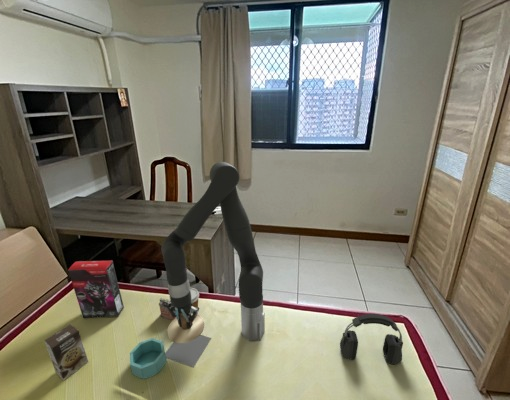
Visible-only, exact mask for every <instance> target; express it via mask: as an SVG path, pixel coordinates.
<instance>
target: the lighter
mask: <svg viewBox="0 0 510 400" xmlns="http://www.w3.org/2000/svg"><path fill="white" fill-rule="evenodd" d="M169 301H170V299H168V298H167V299H165V298H162V297H161V298H160V299H159V301H158V306H159V310H160V317H161V318H164V319H165V320H168V321H173V320H174V319H175V318H176V317H172V315H171V313H170V312H169V310H168V308H167V307H166V305H167V304H168V302H169ZM173 312H175V311H174V310H173Z"/></svg>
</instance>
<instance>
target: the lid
mask: <svg viewBox="0 0 510 400" xmlns="http://www.w3.org/2000/svg"><path fill="white" fill-rule="evenodd" d="M191 314H192V313H191ZM180 319H181V325H182V327H180V326H179V324H178V320H177V319H176V318H175V319H174V320H171V322H170V323H169V325H168V327H167V336H168V338H169V340H170V342H172V343H173V342H175V343H188V342H191V341H193V340H195V339H196V338H197V337H199V336H200V335H202V333H203V332H204V329H205V321H204V318H203V317H202V316H201V315H200V314H197V316H196V318H195V319H194V321H193V322H192V323H193V325H192V327H191V328H190V329H187V323H186V322H187V321H186V318H184V316H183V314H182V313H181V314H180Z"/></svg>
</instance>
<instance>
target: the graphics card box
mask: <svg viewBox="0 0 510 400" xmlns="http://www.w3.org/2000/svg"><path fill="white" fill-rule="evenodd" d="M114 265H115V264H114V261H113V260H112V259H111V260H89V261H88V260H85V261H84V260H79V261H74V263H73V264H71V266H70V267H69V268H68V269H67V270H68V274H69V277H70V281H71V284H72V288H73V290H74V294H75V296H76V300H77V302H78V303H77V304H78V306H79V309H80V312H81V317H82V318H83V319H91V318H93V319H95V318H116V317H117V318H118V317H119V316H120V315H121V314H122V312H123V310H124V308H125V306H124V302H123V299H122V293H121V290H120V287H119V282H118V278H117V274H116V270H115V269H116V268H115V266H114Z"/></svg>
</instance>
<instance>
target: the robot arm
mask: <svg viewBox="0 0 510 400" xmlns="http://www.w3.org/2000/svg"><path fill="white" fill-rule="evenodd" d="M209 179H210V183H209V185H208V187H207V189H206V191H204V194H203V195H202V196H201V197H200V199H198V201H197V202H196V203H195V204H193V206H192V207H191V208H190V209H189V210H188V211H187V212H186V214H185V215H184V216H183V218H182V219H181V221H180V222H179V224H178V225H177V227H176V228H175V229H174V230H172V232H171V233H170V234H169V235H168V236H167V237H165V239H164V241H163V242H162V245H161V254H162V259H163V263H164V267H165V275H166V279H167V288H168V289H167V290H168V296H169V302H168V304H167V305H166V307H167V308H168V310H169V312H170V313H171V315H172V317H176V319H177V320H178V324H179V326H180V327H182V325H181V319H180V314H181V313H182V314H183V316H184V318H186V321H187V322H186V323H187V329H190V328H191V327H192V325H193V323H192V322H193V321H194V319H195V318H196V316H197V314H198V313H199V310H200V307H199V306H198V307H197V308H195V307H193V304H192V303H191V291H190V288H191V286H190V281H189V278H188V277H189V276H188V272H187V271H188V270H187V267H186V266H187V265H186V254H185V249H184V248H183V247H184V246H185V244H186V243H187V242H191V241H193V240H194V239H195V238H196V237H197V235H198V234H199V232H200V231H201V229H203V228H202V227H204V225H205V223H206V222H207V220H208V219H209V217H211V215H212V214H213V212H214V211H215V210H216V209H217V208H218V206H220V212H221V217H222V220H223V225H224V229H225V232H226V237H227V238H228V241H229V243H230V246H232V248H233V249H234V250H235V252H236V253H237V256H238V258H239V264H240V272H239V273H240V274H239V278H238V294H239V296H238V297H239V300H240V318H241V320H240V323H241V334H242V338H244V339H246V341H247V340H248V341H249V342H255V341H260V342H261V340H262V338H263V335H264V333H265V328H266V327H265V326H266V324H265V323H266V321H265V316H266V315H265V312H264V294H263V282H264V281H263V280H264V270H263V266H262V264H261V262H260V259H259V256H258V254H257V251H256V246H255V240H254V234H253V230H252V226H251V223H250V220H249V216H248V215H247V212H246V210H245V208H244V206H243V203H242V201H241V200H240V197H239V194H238V190H237V189H238V188H237V186H238V184H239V182H240V173H239V170H238V169H237V168H236V167H235V166H233V165H232V164H230V163H228V162H227V161H218V162H216V163H214V164H213V165H212V167H211V168H210V171H209ZM173 310H174V311H175V312H173ZM191 310H192V311H191ZM191 312H192V314H191ZM198 315H199V314H198Z"/></svg>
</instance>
